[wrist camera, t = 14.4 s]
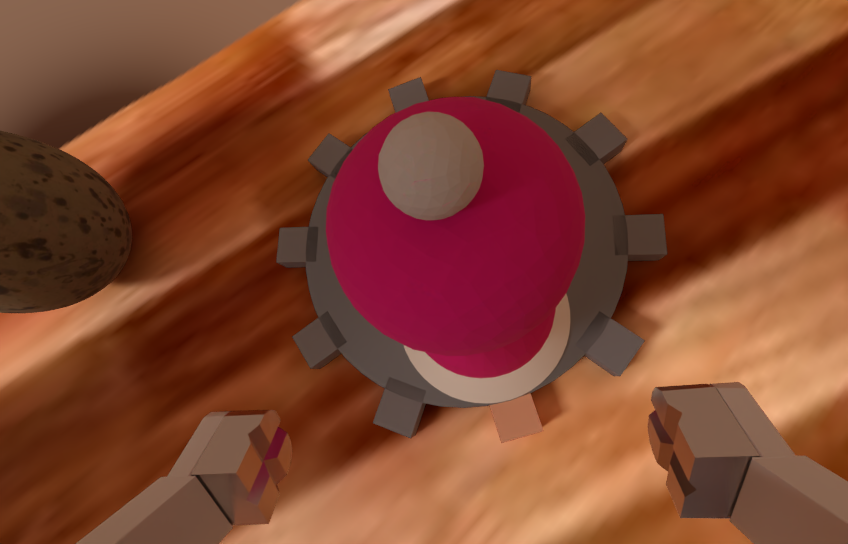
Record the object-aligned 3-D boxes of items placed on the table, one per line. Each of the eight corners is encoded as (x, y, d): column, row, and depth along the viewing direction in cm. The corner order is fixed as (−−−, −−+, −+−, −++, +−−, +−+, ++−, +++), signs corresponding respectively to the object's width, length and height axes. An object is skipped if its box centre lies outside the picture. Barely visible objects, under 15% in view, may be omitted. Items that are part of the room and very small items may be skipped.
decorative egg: (111, 351, 32) (-220, 335, 17) (23, 276, 34) (-323, 208, 20) (198, 228, 33) (-45, 114, 18) (106, 165, 35) (-167, 23, 21)
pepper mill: (485, 231, 27) (438, -126, 8) (574, 317, 25) (812, 124, 6) (398, 311, 27) (127, 152, 7) (481, 404, 25) (397, 514, 5)
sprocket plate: (225, 325, 30) (209, 322, 29) (390, 42, 33) (384, 24, 31) (552, 526, 24) (555, 537, 23) (722, 157, 27) (736, 143, 25)
